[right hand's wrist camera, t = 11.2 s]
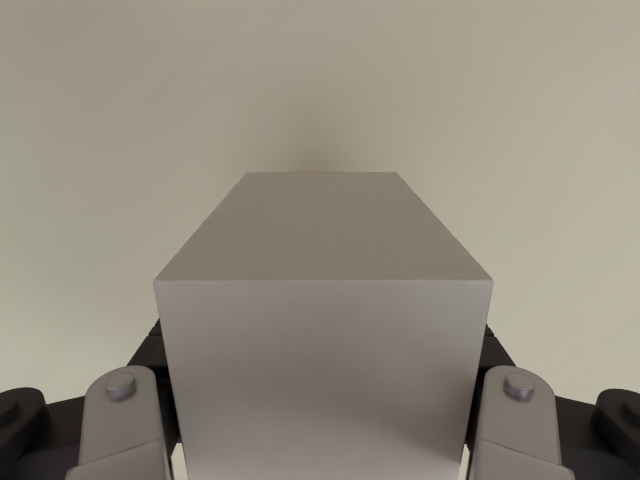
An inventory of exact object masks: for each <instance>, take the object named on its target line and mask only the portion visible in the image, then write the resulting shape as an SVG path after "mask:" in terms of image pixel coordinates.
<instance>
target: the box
mask: <svg viewBox="0 0 640 480" xmlns="http://www.w3.org/2000/svg"><path fill="white" fill-rule="evenodd" d="M493 283H494V281H493V279H492V278H491V277H490V276H489V275H488V273H487V272H486V271H485V270H484V269H483V268H482V267H481V266H480V265H479V263H478V262H477V261H476V260H475V259H474V258H473V257H472V256H471V255H470V253H469V252H468V251H467V250H466V249H465V248H464V247H463V246H462V245H461V244H460V242H459V241H458V240H457V239H456V238H455V237H454V236H453V235H452V234H451V232H450V231H449V230H448V229H447V228H446V227H445V226H444V225H443V224H442V222H441V221H440V220H439V219H438V218H437V217H436V216H435V215H434V214H433V213H432V211H431V210H430V209H429V208H428V207H427V206H426V205H425V204H424V203H423V201H422V200H421V199H420V198H419V197H418V196H417V195H416V194H415V193H414V191H413V190H412V189H411V188H410V187H409V186H408V185H407V184H406V183H405V182H404V180H403V179H402V178H401V177H400V176H399V175H398V174H397V173H396V172H294V173H246V174H245V175H244V176H243V177H242V178H241V180H240V181H239V182H238V183H237V184H236V185H235V187H234V188H233V189H232V190H231V191H230V192H229V194H228V195H227V196H226V197H225V198H224V199H223V201H222V202H221V203H220V204H219V205H218V206H217V208H216V209H215V210H214V211H213V212H212V213H211V214H210V216H209V217H208V218H207V219H206V220H205V221H204V223H203V224H202V225H201V226H200V227H199V228H198V230H197V231H196V232H195V233H194V234H193V235H192V237H191V238H190V239H189V240H188V241H187V242H186V243H185V245H184V246H183V247H182V248H181V249H180V250H179V252H178V253H177V254H176V255H175V256H174V257H173V259H172V260H171V261H170V262H169V263H168V264H167V266H166V267H165V268H164V269H163V270H162V271H161V272H160V274H159V275H158V276H157V277H156V278H155V279H154V281H153V285H154V290H155V296H156V301H157V307H158V313H159V318H160V324H161V329H162V335H163V340H164V346H165V352H166V357H167V363H168V368H169V374H170V379H171V385H172V391H173V396H174V402H175V407H176V413H177V418H178V424H179V430H180V435H181V441H182V446H183V452H184V457H185V463H186V469H187V474H188V480H458V476H459V470H460V465H461V459H462V454H463V448H464V443H465V437H466V432H467V426H468V421H469V415H470V410H471V404H472V399H473V393H474V388H475V382H476V377H477V371H478V366H479V360H480V355H481V349H482V344H483V338H484V332H485V327H486V321H487V316H488V310H489V305H490V299H491V294H492V288H493Z"/></svg>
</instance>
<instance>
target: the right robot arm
mask: <svg viewBox="0 0 640 480" xmlns="http://www.w3.org/2000/svg"><path fill="white" fill-rule="evenodd" d="M176 443H182V441H181V435H180V430H179V424H178V418H177V413H176V407H175V402H174V396H173V391H172V385H171V379H170V374H169V368H168V363H167V357H166V352H165V346H164V340H163V335H162V329H161V324H160V318H159V319H158V321H157V322H156V324H155V327H153V328H152V329H151V331H150V332H149V335H148V336H147V337H146V338H145V340H144V341H143V343H142V344H141V345H140V347H139V348H138V350H137V351H136V353H135V354H134V356H133V357H132V359H131V360H130V361H129V363H128V364H127V366H125V367H121V368H118V369H115V370H112V371H110V372H108V373H106V374H104V375H103V376H101V377H100V378H98V379H97V380H96V381H95V382H94V383H93V384H92V385H91V386H90V387H89V388H88V390H87V392H86V395H85V396H81V397H78V398H73V399H69V400H64V401H60V402H55V403H51V404H46V402H45V399H44V396H43V394H42V392H41V391H40V390H38V389H35V388H28V387H24V388H16V389H11V390H8V391H5V392H2V393H0V480H175V477H174V470H173V464H172V459H171V456H172V453H173V451H174V448H175V446H176ZM464 444H467V447H468V449H469V452H470V454H469V459H468V464H467V470H466V477H465V480H640V394H639V393H636V392H633V391H629V390H624V389H607V390H604V391H602V392H601V393H600V394H599V396H598V398H597V401H596V404H595V405H593V404H588V403H584V402H579V401H575V400H571V399H566V398H562V397H558V396H556V395H554V392H553V390H552V389H551V387H550V386H549V385H548V384H547V383H546V382H545V381H544V380H543V379H542V378H540V377H539V376H537V375H536V374H534V373H532V372H530V371H528V370H525V369H522V368H519V367H516V365H515V364H514V362H513V361H512V359H511V358H510V357H509V355H508V354H507V352H506V351H505V349H504V348H503V347H502V345H501V344H500V342H499V341H498V339H497V338H496V337H494V334H493V332H492V331H491V329H490V328H489V327H488V325H487V324H486V327H485V332H484V338H483V344H482V349H481V355H480V360H479V366H478V371H477V377H476V382H475V388H474V393H473V399H472V404H471V410H470V415H469V421H468V426H467V432H466V437H465V443H464Z"/></svg>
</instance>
